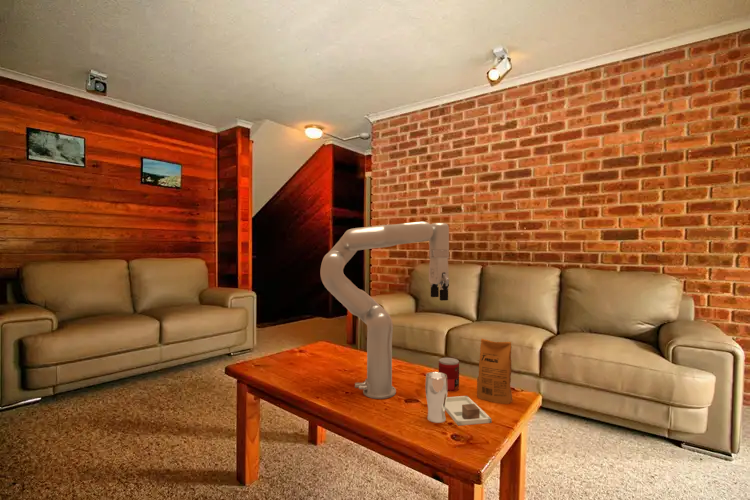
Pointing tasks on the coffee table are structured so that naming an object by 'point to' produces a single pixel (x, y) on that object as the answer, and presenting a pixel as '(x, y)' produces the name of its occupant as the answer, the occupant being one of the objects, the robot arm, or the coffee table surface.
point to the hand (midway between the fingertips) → (439, 298)
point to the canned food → (450, 372)
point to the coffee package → (494, 372)
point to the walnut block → (470, 411)
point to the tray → (455, 411)
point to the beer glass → (436, 396)
